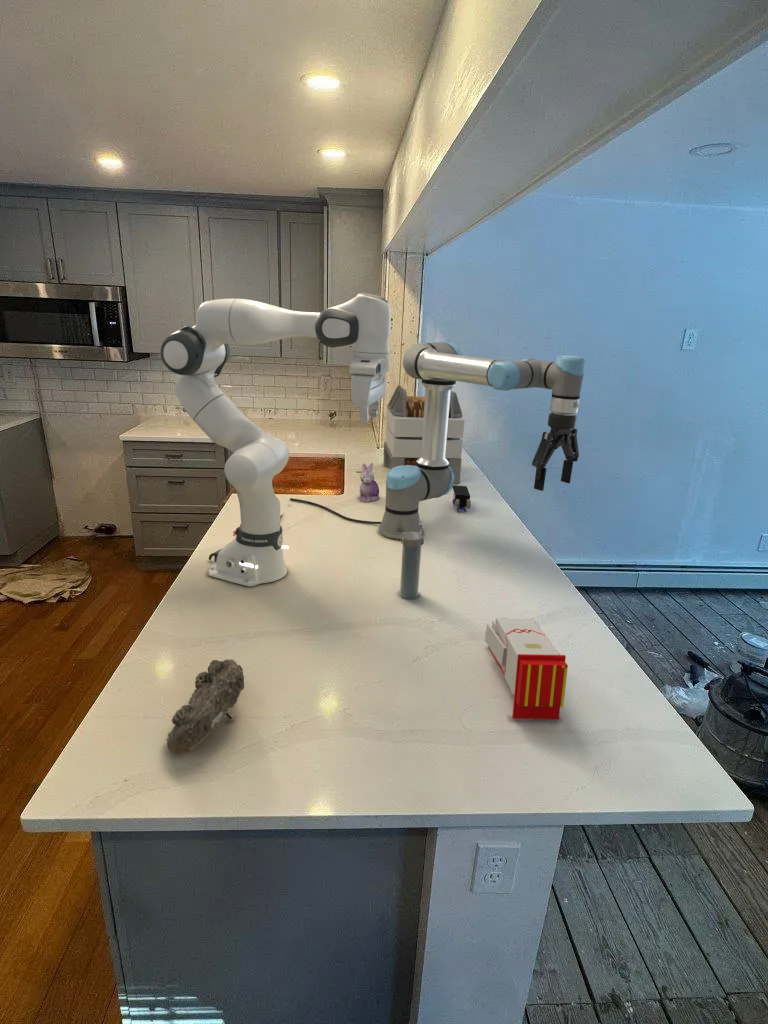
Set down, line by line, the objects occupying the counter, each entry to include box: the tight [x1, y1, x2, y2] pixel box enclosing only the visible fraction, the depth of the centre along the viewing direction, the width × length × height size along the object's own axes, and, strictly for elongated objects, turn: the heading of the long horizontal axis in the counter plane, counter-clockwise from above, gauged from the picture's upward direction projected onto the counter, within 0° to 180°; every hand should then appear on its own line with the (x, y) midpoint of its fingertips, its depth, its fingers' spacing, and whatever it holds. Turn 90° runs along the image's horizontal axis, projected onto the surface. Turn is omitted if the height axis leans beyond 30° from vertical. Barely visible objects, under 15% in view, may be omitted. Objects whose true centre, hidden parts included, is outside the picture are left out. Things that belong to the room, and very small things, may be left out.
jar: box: [399, 544, 422, 600], centre depth 155 cm, size 5×5×17 cm
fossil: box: [166, 658, 245, 754], centre depth 106 cm, size 22×10×15 cm
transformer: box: [383, 384, 465, 484], centre depth 268 cm, size 34×33×41 cm
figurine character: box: [451, 484, 472, 513], centre depth 228 cm, size 7×8×15 cm
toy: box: [484, 617, 569, 720], centre depth 122 cm, size 12×13×30 cm
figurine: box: [358, 462, 380, 503], centre depth 232 cm, size 9×10×15 cm
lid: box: [400, 531, 425, 547], centre depth 152 cm, size 6×6×2 cm
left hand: (369, 419), depth 144 cm, fingers open, 8 cm apart
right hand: (552, 485), depth 166 cm, fingers open, 13 cm apart
